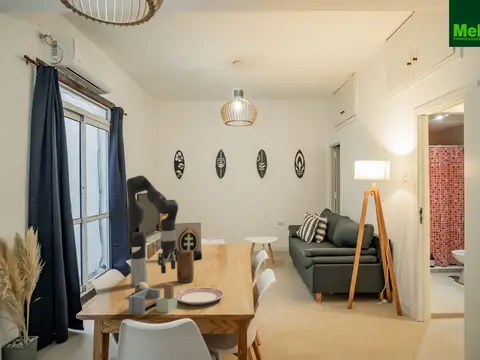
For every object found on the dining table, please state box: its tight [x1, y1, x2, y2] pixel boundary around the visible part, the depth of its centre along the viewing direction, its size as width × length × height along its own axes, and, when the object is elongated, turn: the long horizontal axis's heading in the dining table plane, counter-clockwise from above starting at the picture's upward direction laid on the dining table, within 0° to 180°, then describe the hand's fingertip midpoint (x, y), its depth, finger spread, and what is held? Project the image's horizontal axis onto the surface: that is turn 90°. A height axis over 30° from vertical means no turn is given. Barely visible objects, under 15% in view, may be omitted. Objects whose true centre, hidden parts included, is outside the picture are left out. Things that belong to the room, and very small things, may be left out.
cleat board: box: [128, 287, 161, 315], centre depth 179 cm, size 8×16×8 cm, turn 158°
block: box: [176, 250, 195, 283], centre depth 226 cm, size 11×8×20 cm
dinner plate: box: [174, 286, 225, 306], centre depth 192 cm, size 27×27×3 cm
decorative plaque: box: [175, 222, 203, 262], centre depth 290 cm, size 21×11×30 cm, turn 104°
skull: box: [130, 282, 150, 296], centre depth 200 cm, size 12×10×10 cm
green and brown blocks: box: [156, 282, 178, 314], centre depth 177 cm, size 7×8×13 cm
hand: (168, 271), depth 177 cm, fingers open, 8 cm apart
